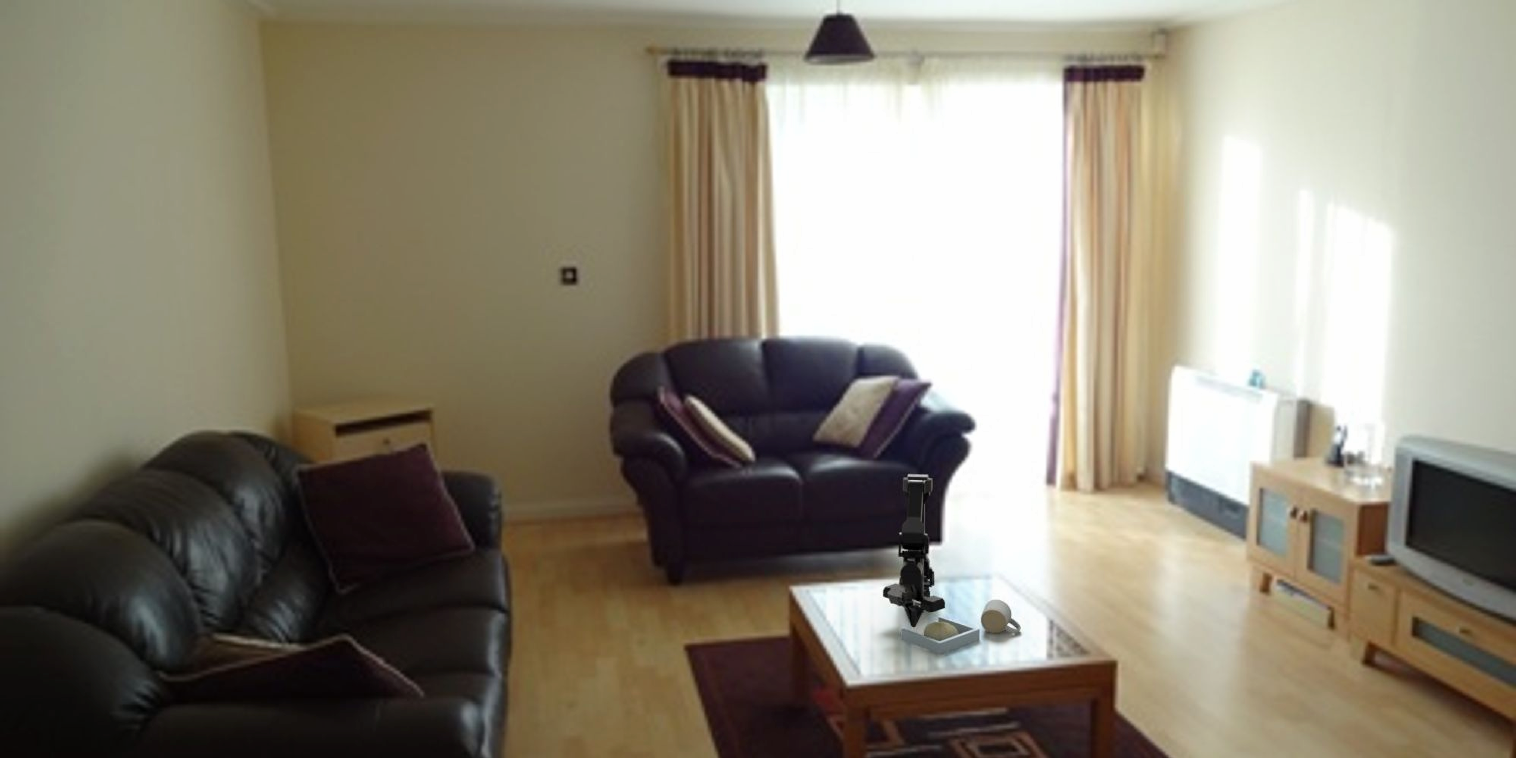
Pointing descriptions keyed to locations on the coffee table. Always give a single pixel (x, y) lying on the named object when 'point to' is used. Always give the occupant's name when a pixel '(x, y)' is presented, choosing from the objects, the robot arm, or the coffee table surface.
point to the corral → (965, 637)
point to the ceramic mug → (998, 618)
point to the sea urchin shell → (940, 631)
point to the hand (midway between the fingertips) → (913, 627)
